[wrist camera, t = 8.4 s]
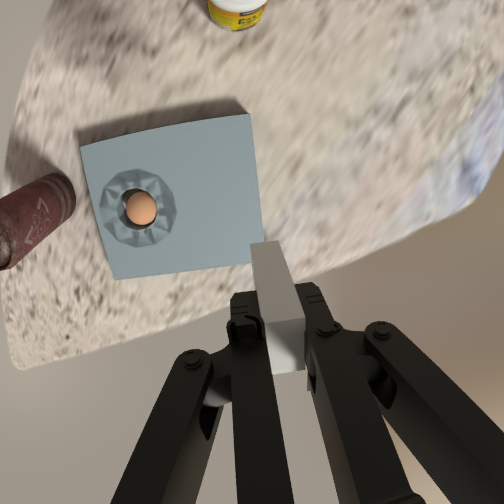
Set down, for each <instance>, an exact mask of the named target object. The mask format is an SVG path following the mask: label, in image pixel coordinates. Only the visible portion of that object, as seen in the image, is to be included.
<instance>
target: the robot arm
mask: <svg viewBox="0 0 504 504" xmlns="http://www.w3.org/2000/svg"><path fill="white" fill-rule="evenodd" d="M250 251H251V259H252V268H253V276H254V285H255V291H247V292H239V293H234V295H233V296H232V298H231V300H230V310H231V311H230V312H231V319H230V320H229V321H228V323H227V326H226V328H227V333H228V338H229V344H228V345H227V346H226V347H225V348H224V349H222V350H220V351H218V352H215V353H213V354H210V355H209V353H207V352H206V351H204V350H200V349H192V350H188V351H185V352H183V353H182V354H180V355H179V356H178V357H177V359H176V360H175V362H174V364H173V367H172V369H171V371H170V373H169V375H168V377H167V379H166V381H165V384H164V386H163V388H162V390H161V392H160V394H159V397H158V399H157V401H156V403H155V405H154V407H153V409H152V412H151V414H150V416H149V418H148V420H147V422H146V425H145V427H144V429H143V431H142V433H141V436H140V438H139V440H138V442H137V444H136V447H135V449H134V451H133V453H132V455H131V458H130V460H129V462H128V464H127V467H126V469H125V471H124V473H123V476H122V478H121V480H120V482H119V485H118V487H117V489H116V492H115V494H114V496H113V498H112V501H111V503H110V504H195V503H196V499H197V496H198V493H199V489H200V486H201V482H202V479H203V476H204V473H205V469H206V466H207V462H208V459H209V456H210V452H211V449H212V445H213V442H214V439H215V435H216V432H217V428H218V425H219V421H220V418H221V414H222V411H223V407H224V404H227V403H229V402H232V414H233V433H234V453H235V469H236V470H235V471H236V486H237V501H238V504H294V499H293V493H292V488H291V481H290V475H289V469H288V464H287V459H286V452H285V446H284V440H283V434H282V429H281V423H280V417H279V411H278V405H277V400H276V393H275V388H274V382H273V376H272V375H273V374H279V373H286V372H293V371H299V370H305V362H306V366H307V369H308V382H307V391H310V390H311V394H312V398H313V402H314V405H315V409H316V413H317V417H318V420H319V424H320V428H321V432H322V436H323V440H324V444H325V448H326V452H327V456H328V459H329V463H330V467H331V471H332V475H333V479H334V483H335V487H336V492H337V496H338V500H339V503H340V504H426V503H425V501H424V499H423V498H422V497H421V496H420V495H419V494H416V493H414V492H413V491H412V489H411V487H410V485H409V482H408V480H407V477H406V475H405V472H404V469H403V467H402V464H401V461H400V459H399V457H398V454H397V451H396V449H395V446H394V444H393V441H392V439H391V436H390V434H389V431H388V429H387V426H386V424H385V422H384V419H383V417H384V418H385V419H386V420H387V422H388V423H389V424H390V426H391V427H392V428H393V429H394V431H395V432H396V433H397V434H398V436H399V437H400V438H401V440H402V441H403V442H404V443H405V445H406V446H407V447H408V449H409V450H410V451H411V452H412V454H413V455H414V456H415V457H416V459H417V460H418V461H419V463H420V464H421V465H422V466H423V468H424V469H425V470H426V472H427V473H428V474H429V475H430V477H431V478H432V479H433V481H434V482H435V483H436V485H437V486H438V487H439V488H440V490H441V491H442V492H443V493H444V494H445V496H446V497H447V499H448V500H449V501H450V503H451V504H504V432H503V431H502V430H501V429H500V428H499V427H498V426H497V425H496V424H495V423H494V422H493V421H492V420H491V419H490V418H489V417H488V416H487V415H486V414H485V413H484V412H483V411H482V410H481V409H480V408H479V407H478V406H477V405H476V404H475V403H474V402H473V401H472V400H471V399H470V398H469V396H467V394H466V393H465V392H463V391H462V390H461V389H460V388H459V387H458V386H457V385H456V384H455V383H454V382H453V381H452V380H451V379H450V378H449V377H448V376H447V375H446V374H445V373H444V372H443V371H442V370H441V369H440V368H439V367H438V366H437V365H436V364H435V363H434V362H433V361H432V360H431V359H430V358H429V357H428V356H427V355H425V354H424V353H423V352H422V351H421V350H420V349H419V348H418V347H417V346H416V345H415V344H414V343H413V342H412V341H411V340H410V339H408V337H406V336H405V335H404V334H403V333H402V332H401V331H400V330H399V329H398V328H397V327H395V326H394V325H393V324H391V323H388V322H385V321H377V322H373V323H371V324H369V325H368V326H367V327H366V329H365V331H350V330H346V329H343V327H342V326H341V325H340V323H338V322H336V321H334V319H333V317H332V315H331V312H330V310H329V308H328V306H327V304H326V302H325V299H324V297H323V296H322V293H321V291H320V289H319V287H318V286H316V285H315V284H314V283H312V282H308V283H301V284H294V283H293V280H292V278H291V275H290V272H289V269H288V266H287V263H286V261H285V258H284V255H283V252H282V250H281V247H280V244H279V241H278V240H276V241H268V242H260V243H252V244H250ZM382 415H383V417H382Z"/></svg>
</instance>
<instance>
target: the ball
mask: <svg viewBox="0 0 504 504" xmlns="http://www.w3.org/2000/svg"><path fill="white" fill-rule="evenodd" d="M126 212H127V215H128V217H129V219H130V220H131V221H132V222H134V223H136V224H140V225H144V224H148V223H150V222H152V221H153V220H154V219H155V217H156V216H157V213H158V210H157V205H156V200H155V199H154V198H153V197H152V196H151V195H150V194H149V192H145V191H140V192H137V193H135V194H133V195H132V196H131V197H130V198H129V200H128V202H127V204H126Z"/></svg>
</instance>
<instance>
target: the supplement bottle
mask: <svg viewBox="0 0 504 504" xmlns="http://www.w3.org/2000/svg"><path fill="white" fill-rule="evenodd" d="M207 1H208V8H209V14H210V17H211V19H212V21H213V22H214V23H215V24H216V25H217V26H218V27H220V28H221V29H224V30H226V31H231V32H240V31H245V30H248V29H250V28H252V27H253V26H254V25H256V24H257V23H258V21H259V20H260V18H261V16H262V14H263V12H264V9H265V7H266V5H267V2H268V0H207Z"/></svg>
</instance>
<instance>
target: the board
mask: <svg viewBox="0 0 504 504" xmlns="http://www.w3.org/2000/svg"><path fill="white" fill-rule="evenodd" d="M80 151H81V156H82V161H83V166H84V171H85V175H86V180H87V184H88V188H89V193H90V197H91V201H92V205H93V209H94V213H95V216H96V220H97V224H98V227H99V231H100V235H101V238H102V241H103V245H104V248H105V251H106V255H107V258H108V261H109V264H110V267H111V270H112V273H113V276H114V279H115V280H122V279H130V278H138V277H146V276H154V275H162V274H170V273H178V272H186V271H194V270H201V269H209V268H217V267H224V266H232V265H239V264H247V263H252V259H251V251H250V244H252V243H260V242H264V235H263V225H262V215H261V206H260V197H259V187H258V178H257V169H256V160H255V151H254V142H253V133H252V124H251V116H250V114H241V115H233V116H225V117H218V118H211V119H204V120H198V121H192V122H186V123H180V124H174V125H169V126H164V127H159V128H154V129H149V130H144V131H140V132H135V133H131V134H127V135H123V136H119V137H114V138H111V139H107V140H103V141H99V142H95V143H92V144H88V145H85V146H82V147H80ZM134 188H139V189H142V190H144V191H147V192H149V194H150V195H151V196H152V197H153V198H154V199H155V200H156V205H157V210H158V213H157V216H156V217H155V219H154V220H153V221H152V222H150V223H148V224H144V225H140V224H136V223H134V222H132V221H131V220H130V219H129V217H128V215H127V213H126V212H125V210H124V205H123V198H124V195H125V191H126V190H129V189H134Z"/></svg>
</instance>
